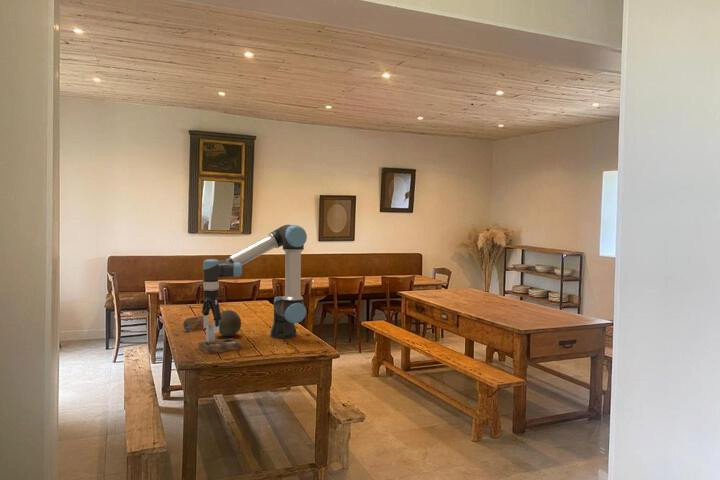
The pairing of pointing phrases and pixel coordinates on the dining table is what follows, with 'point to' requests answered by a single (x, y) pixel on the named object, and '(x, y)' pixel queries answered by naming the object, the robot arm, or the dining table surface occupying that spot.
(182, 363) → the dining table surface
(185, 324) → the tin
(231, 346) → the socket board
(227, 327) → the dark grey round ball
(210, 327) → the plug
